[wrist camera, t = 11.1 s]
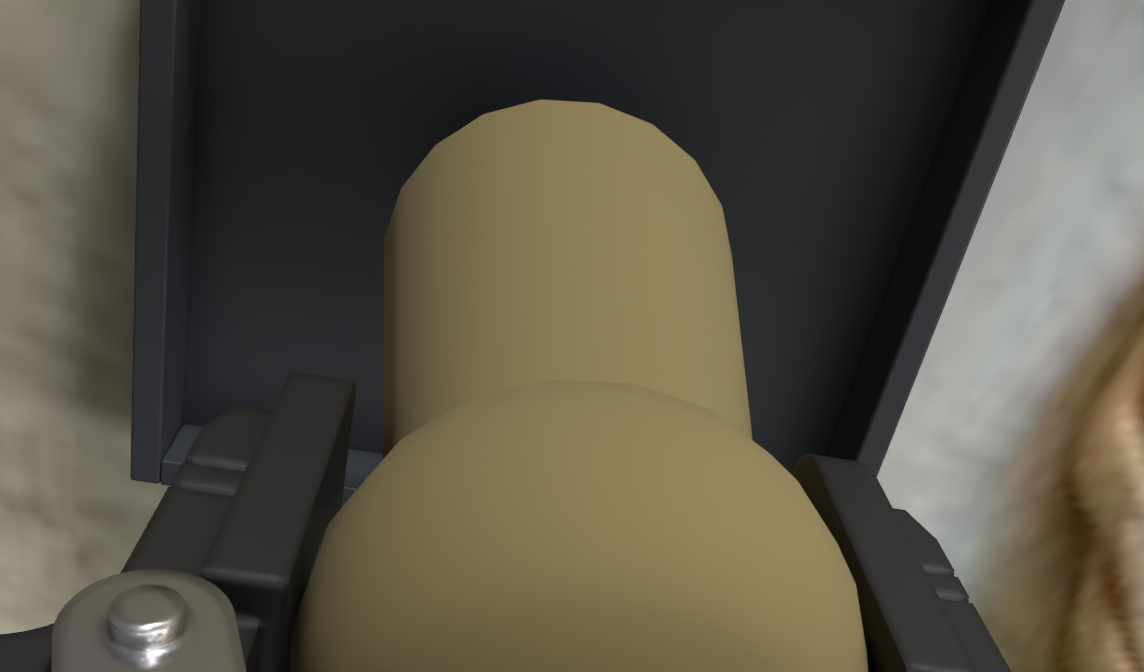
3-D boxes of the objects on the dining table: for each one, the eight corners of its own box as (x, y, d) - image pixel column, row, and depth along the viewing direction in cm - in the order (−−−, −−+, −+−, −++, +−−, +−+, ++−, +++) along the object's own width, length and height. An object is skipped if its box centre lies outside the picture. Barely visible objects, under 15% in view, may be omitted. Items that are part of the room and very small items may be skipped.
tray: (161, 429, 23) (129, 480, 21) (184, -238, 17) (143, -246, 15) (814, 528, 25) (836, 583, 23) (1028, -48, 19) (1081, -35, 17)
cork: (412, 61, 16) (220, 424, 6) (776, 142, 17) (1116, 579, 7) (359, 390, 19) (165, 1013, 9) (679, 447, 20) (826, 1080, 10)
